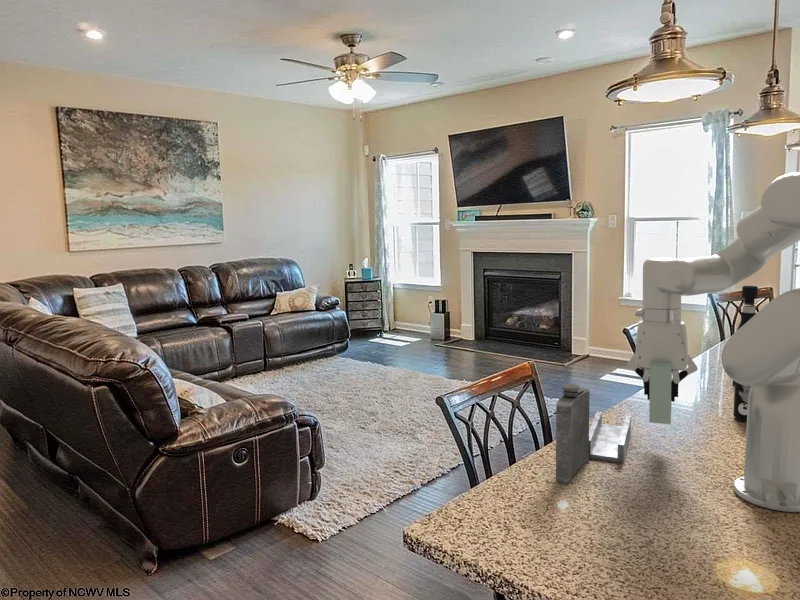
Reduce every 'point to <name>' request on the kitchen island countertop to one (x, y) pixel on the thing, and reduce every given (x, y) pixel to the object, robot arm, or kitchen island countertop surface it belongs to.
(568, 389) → the flask
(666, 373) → the door panel
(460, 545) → the kitchen island countertop surface
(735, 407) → the beverage can
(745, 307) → the wine bottle
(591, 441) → the strip
